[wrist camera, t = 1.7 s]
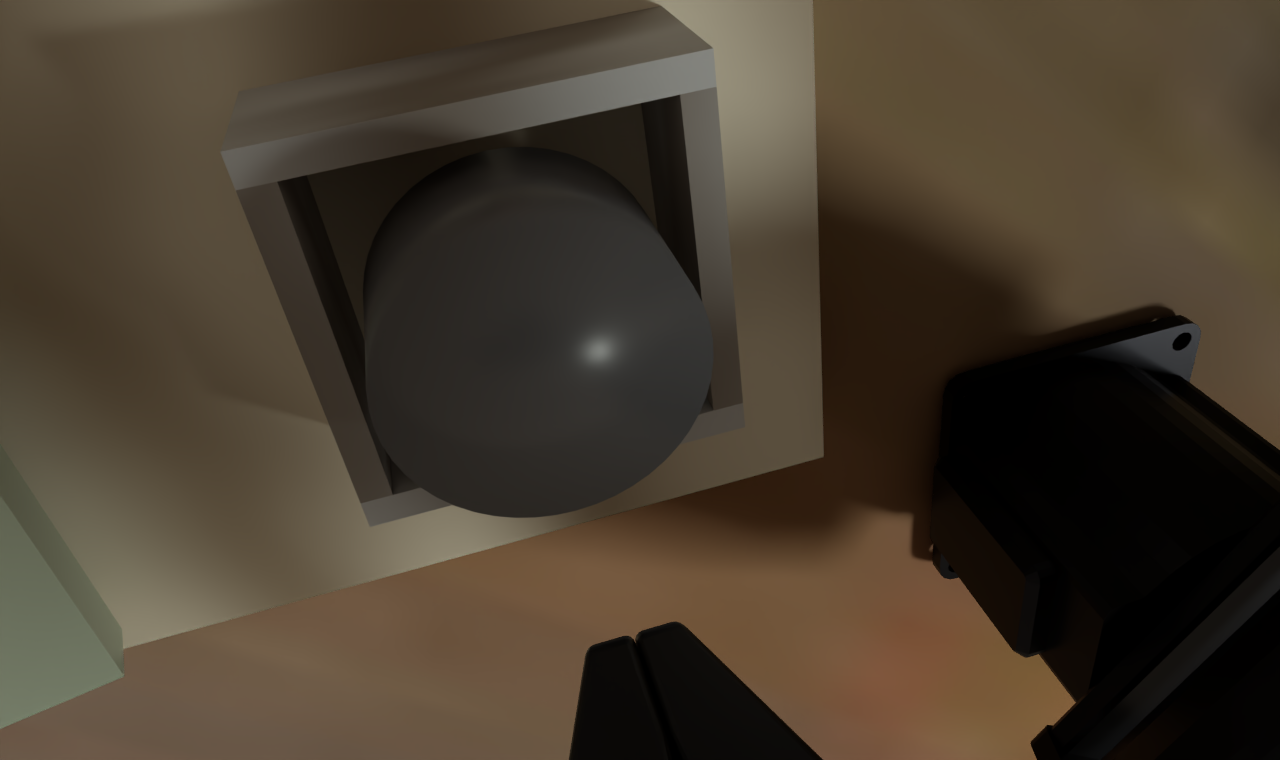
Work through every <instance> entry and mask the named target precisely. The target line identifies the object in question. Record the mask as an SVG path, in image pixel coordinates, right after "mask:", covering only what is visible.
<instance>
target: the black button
mask: <svg viewBox="0 0 1280 760" xmlns="http://www.w3.org/2000/svg"><path fill="white" fill-rule="evenodd" d="M363 310H364V340H365V369H366V392H367V401H368V409H369V412H370V416H371V420H372V423H373V427H374V429H375V431H376V433H377V436H378V438H379V440H380V442H381V444H382V446H383V447H384V449H385V450H386V452H387V453H388V455H389V456H390V458H391V459H392V461H393V462H394V463H395V464H396V465H397V466H398V467H399V469H400V470H401V471H402V472H403V473H404V474H405V475H406V476H407V477H408V478H410V479H411V480H412V481H413V482H414V483H416V484H417V485H418V486H419V487H421V488H422V489H424V490H425V491H427V492H429V493H430V494H432V495H433V496H435V497H437V498H439V499H441V500H443V501H445V502H447V503H450V504H452V505H454V506H457V507H460V508H463V509H466V510H469V511H472V512H476V513H481V514H486V515H491V516H499V517H510V518H536V517H544V516H553V515H559V514H563V513H568V512H572V511H577V510H580V509H583V508H586V507H589V506H592V505H595V504H598V503H600V502H602V501H605V500H607V499H609V498H611V497H614V496H616V495H618V494H619V493H621V492H623V491H625V490H626V489H628V488H630V487H632V486H633V485H635V484H636V483H638V482H639V481H641V480H642V479H643V478H645V477H646V476H648V475H649V474H650V473H651V472H653V471H654V470H655V469H656V468H657V467H658V466H659V465H661V464H662V463H663V462H664V461H665V460H666V459H667V458H668V457H669V456H670V455H671V454H672V453H673V451H674V450H675V449H676V448H677V447H678V446H679V445H680V443H681V442H682V441H683V439H684V438H685V436H686V435H687V434H688V432H689V431H690V429H691V428H692V426H693V424H694V422H695V420H696V419H697V417H698V415H699V413H700V411H701V408H702V406H703V404H704V401H705V399H706V396H707V392H708V389H709V385H710V381H711V376H712V368H713V338H712V333H711V327H710V322H709V319H708V316H707V313H706V310H705V308H704V305H703V303H702V301H701V299H700V297H699V295H698V293H697V292H696V290H695V288H694V286H693V285H692V283H691V282H690V280H689V279H688V277H687V275H686V274H685V272H684V271H683V269H682V268H681V266H680V265H679V263H678V262H677V260H676V258H675V257H674V255H673V254H672V252H671V251H670V249H669V248H668V246H667V245H666V243H665V241H664V240H663V238H662V237H661V235H660V234H659V232H658V231H657V229H656V228H655V226H654V224H653V223H652V221H651V220H650V218H649V217H648V215H647V214H646V212H645V211H644V209H643V208H642V206H641V205H640V204H639V202H638V201H637V200H636V198H635V197H634V196H633V194H632V193H631V192H630V191H629V190H628V189H627V188H626V187H625V186H624V185H623V184H622V183H621V182H619V181H618V180H617V179H615V178H614V177H613V176H611V175H610V174H609V173H607V172H606V171H605V170H603V169H601V168H599V167H598V166H596V165H594V164H592V163H590V162H588V161H586V160H584V159H581V158H578V157H576V156H573V155H571V154H567V153H563V152H559V151H555V150H551V149H544V148H534V147H506V148H500V149H493V150H486V151H483V152H479V153H476V154H472V155H469V156H465V157H463V158H460V159H458V160H456V161H453V162H451V163H449V164H446V165H444V166H443V167H441V168H439V169H437V170H436V171H434V172H432V173H431V174H429V175H427V176H426V177H425V178H423V179H422V180H421V181H419V182H418V183H417V184H416V185H414V186H413V187H412V188H411V189H409V190H408V192H407V193H406V194H405V195H404V196H403V197H402V198H401V199H400V200H399V201H398V202H397V203H396V204H395V205H394V207H393V208H392V209H391V211H390V212H389V213H388V215H387V216H386V217H385V219H384V220H383V222H382V224H381V226H380V228H379V229H378V231H377V233H376V235H375V237H374V239H373V242H372V245H371V248H370V250H369V253H368V256H367V261H366V266H365V271H364V281H363Z"/></svg>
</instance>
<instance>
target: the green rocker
mask: <svg viewBox="0 0 1280 760" xmlns="http://www.w3.org/2000/svg"><path fill="white" fill-rule="evenodd" d="M122 677H124V657H123V636H122V628H121V627H120V625H119V624H118V622H117V621H116V619H115V618H114V616H113V615H112V613H111V612H110V610H109V608H108V607H107V605H106V604H105V602H104V601H103V599H102V598H101V596H100V595H99V593H98V592H97V590H96V589H95V587H94V586H93V584H92V583H91V581H90V580H89V578H88V577H87V575H86V574H85V572H84V570H83V569H82V567H81V566H80V564H79V563H78V561H77V560H76V558H75V557H74V555H73V554H72V552H71V551H70V549H69V548H68V546H67V545H66V543H65V542H64V540H63V539H62V537H61V535H60V534H59V532H58V531H57V529H56V528H55V526H54V525H53V523H52V522H51V520H50V519H49V517H48V516H47V514H46V513H45V511H44V510H43V508H42V507H41V505H40V504H39V502H38V501H37V499H36V497H35V496H34V494H33V493H32V491H31V490H30V488H29V487H28V485H27V484H26V482H25V481H24V479H23V478H22V476H21V475H20V473H19V472H18V470H17V469H16V467H15V466H14V464H13V463H12V461H11V459H10V458H9V456H8V455H7V453H6V452H5V450H4V449H3V447H2V446H1V444H0V729H1V728H3V727H6V726H8V725H10V724H13V723H15V722H18V721H20V720H22V719H25V718H27V717H29V716H32V715H34V714H37V713H39V712H41V711H44V710H46V709H48V708H51V707H53V706H55V705H58V704H60V703H63V702H65V701H67V700H70V699H72V698H74V697H77V696H79V695H81V694H84V693H86V692H89V691H91V690H93V689H96V688H98V687H100V686H103V685H105V684H108V683H110V682H112V681H115V680H117V679H119V678H122Z"/></svg>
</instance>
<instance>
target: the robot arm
mask: <svg viewBox="0 0 1280 760" xmlns="http://www.w3.org/2000/svg"><path fill="white" fill-rule="evenodd" d="M1200 335H1201V330H1200V328H1199V326H1198V325H1196V324H1195V323H1193V322H1192V321H1190V320H1189V319H1188V318H1186V317H1184V316H1181V315H1179V316H1172V317H1168V318H1164V319H1161V320H1157V321H1153V322H1149V323H1146V324H1142V325H1138V326H1134V327H1131V328H1127V329H1123V330H1119V331H1116V332H1112V333H1108V334H1104V335H1101V336H1097V337H1093V338H1089V339H1086V340H1082V341H1078V342H1074V343H1071V344H1067V345H1063V346H1059V347H1056V348H1052V349H1048V350H1044V351H1041V352H1037V353H1033V354H1029V355H1026V356H1022V357H1018V358H1014V359H1011V360H1007V361H1003V362H1000V363H996V364H992V365H988V366H985V367H981V368H977V369H973V370H970V371H966V372H963V373H961V374H958V375H956V376H955V377H954V378H953V379H951V380H950V381H949V383H948V384H947V386H946V387H945V390H944V393H943V405H942V420H941V435H940V450H939V458H938V460H937V463H936V465H935V467H934V477H933V493H932V509H931V525H930V538H931V540H932V542H933V558H932V560H933V565H934V566H935V567H936V569H937V570H938V572H939V573H940V574H941V575H942V576H943V577H944V578H947V579H954V578H958V577H959V578H960V579H961V581H962V582H963V583H964V585H965V586H966V588H967V589H968V590H969V592H970V593H971V594H972V596H973V597H974V598H975V600H976V601H977V602H978V604H979V605H980V606H981V608H982V609H983V611H984V612H985V613H986V615H987V616H988V617H989V619H990V620H991V621H992V623H993V624H994V625H995V627H996V628H997V629H998V631H999V632H1000V633H1001V635H1002V636H1003V638H1004V639H1005V640H1006V642H1007V643H1008V644H1009V646H1010V647H1011V648H1012V650H1013V651H1015V652H1016V653H1018V654H1020V655H1021V656H1023V657H1031V656H1034V655H1037V654H1039V655H1040V656H1041V658H1042V659H1043V660H1044V662H1045V663H1046V664H1047V665H1048V667H1049V668H1050V669H1051V671H1052V672H1053V673H1054V675H1055V676H1056V677H1057V679H1058V680H1059V681H1060V682H1061V684H1062V685H1063V686H1064V688H1065V689H1066V690H1067V692H1068V693H1069V694H1070V695H1071V697H1072V698H1073V699H1074V701H1075V702H1076V703H1075V704H1074V705H1073V706H1072V707H1071V708H1070V709H1069V710H1068V711H1067V712H1066V713H1065V714H1064V715H1063V716H1062V717H1061V718H1060V719H1059V720H1058V721H1057V722H1056V723H1055V724H1054V725H1053V726H1052V725H1047V726H1046V727H1045V728H1044V729H1043V730H1042V731H1041V732H1040V733H1039V734H1038V735H1037V736H1036V737H1035V738H1034V739H1033V740H1032V741H1031V747H1032V749H1033V751H1034V754H1035V756H1036V758H1037V760H1280V450H1279V449H1277V448H1276V447H1275V446H1273V445H1272V444H1271V443H1269V442H1268V441H1267V440H1265V439H1264V438H1263V437H1261V436H1260V435H1259V434H1257V433H1256V432H1255V431H1253V430H1252V429H1251V428H1249V427H1248V426H1247V425H1245V424H1244V423H1243V422H1241V421H1240V420H1239V419H1237V418H1236V417H1235V416H1233V415H1232V414H1231V413H1229V412H1228V411H1227V410H1225V409H1224V408H1223V407H1221V406H1220V405H1219V404H1217V403H1216V402H1215V401H1213V400H1212V399H1211V398H1209V397H1208V396H1207V395H1205V394H1204V393H1203V392H1201V391H1200V390H1199V389H1197V388H1196V387H1195V386H1193V385H1192V384H1191V383H1190V382H1189V381H1190V377H1191V373H1192V369H1193V365H1194V361H1195V357H1196V353H1197V348H1198V344H1199V340H1200ZM969 391H971V392H970V393H969V394H968V395H967V396H965V397H963V396H964V395H965V394H966V393H967V392H969ZM635 641H636V643H635ZM635 641H634V639H632V638H631V637H629V636H622V637H619V638H615V639H612V640H608V641H605V642H601V643H598V644H595V645H592V646H591V647H590V648H589V649H588V650H587V653H586V656H585V661H584V667H583V674H582V680H581V686H580V693H579V699H578V705H577V712H576V718H575V724H574V731H573V737H572V743H571V750H570V756H569V760H823V759H822V758H821V757H820V756H819V755H818V754H817V753H816V752H814V751H813V750H812V749H811V748H810V747H809V746H808V745H807V744H806V743H805V742H804V741H803V740H802V739H801V738H800V737H799V736H798V735H797V734H796V733H795V732H794V731H793V730H792V729H791V728H790V727H789V726H788V725H787V724H786V723H785V722H784V721H783V720H782V719H780V718H779V717H778V716H777V715H776V714H775V713H774V712H773V711H772V710H771V709H770V708H769V707H768V706H767V705H766V704H765V703H764V702H763V701H762V700H761V699H760V698H759V697H758V696H757V695H756V694H755V693H754V692H753V691H752V690H751V689H750V688H749V687H748V686H746V685H745V684H744V683H743V682H742V681H741V680H740V679H739V678H738V677H737V676H736V675H735V674H734V673H733V672H732V671H731V670H730V669H729V668H728V667H727V666H726V665H725V664H724V663H723V662H722V661H721V660H720V659H719V658H718V657H717V656H716V655H715V654H714V653H712V652H711V651H710V650H709V649H708V648H707V647H706V646H705V645H704V644H703V643H702V642H701V641H700V640H699V639H698V638H697V637H696V636H695V635H694V634H693V633H692V632H691V631H690V630H689V629H688V628H687V627H685V626H684V625H683V624H681V623H679V622H670V623H667V624H663V625H660V626H656V627H653V628H649V629H646V630H643V631H641V632H639V633H638V634H637V635H636V639H635Z"/></svg>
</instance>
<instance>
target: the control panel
mask: <svg viewBox="0 0 1280 760" xmlns="http://www.w3.org/2000/svg"><path fill="white" fill-rule="evenodd" d="M506 147H534V148H544V149H551V150H555V151H559V152H563V153H567V154H571V155H573V156H576V157H578V158H581V159H584V160H586V161H588V162H590V163H592V164H594V165H596V166H598V167H599V168H601V169H603V170H605V171H606V172H607V173H609V174H610V175H611V176H613V177H614V178H615V179H617V180H618V181H619V182H621V183H622V184H623V185H624V186H625V187H626V188H627V189H628V190H629V191H630V192H631V193H632V194H633V196H634V197H635V198H636V200H637V201H638V202H639V204H640V205H641V206H642V208H643V209H644V211H645V212H646V214H647V215H648V217H649V218H650V220H651V221H652V223H653V224H654V226H655V228H656V229H657V231H658V232H659V234H660V235H661V237H662V238H663V240H664V241H665V243H666V245H667V246H668V248H669V249H670V251H671V252H672V254H673V255H674V257H675V258H676V260H677V262H678V263H679V265H680V266H681V268H682V269H683V271H684V272H685V274H686V275H687V277H688V279H689V280H690V282H691V283H692V285H693V286H694V288H695V290H696V292H697V293H698V295H699V297H700V299H701V301H702V303H703V305H704V308H705V310H706V313H707V316H708V319H709V322H710V327H711V333H712V338H713V368H712V376H711V381H710V385H709V389H708V392H707V396H706V399H705V401H704V404H703V406H702V408H701V411H700V413H699V415H698V417H697V419H696V420H695V422H694V424H693V426H692V428H691V429H690V431H689V432H688V434H687V435H686V436H685V438H684V439H683V441H682V442H681V443H680V445H679V446H678V447H677V448H676V449H675V450H674V451H673V453H672V454H671V455H670V456H669V457H668V458H667V459H666V460H665V461H664V462H663V463H662V464H661V465H659V466H658V467H657V468H656V469H655V470H654V471H653V472H651V473H650V474H649V475H648V476H646V477H645V478H643V479H642V480H641V481H639V482H638V483H636V484H635V485H633V486H632V487H630V488H628V489H626V490H625V491H623V492H621V493H619V494H618V495H616V496H614V497H611V498H609V499H607V500H605V501H602V502H600V503H598V504H595V505H592V506H589V507H586V508H583V509H580V510H577V511H572V512H568V513H563V514H559V515H553V516H544V517H536V518H510V517H499V516H491V515H486V514H481V513H476V512H472V511H469V510H466V509H463V508H460V507H457V506H454V505H452V504H450V503H447V502H445V501H443V500H441V499H439V498H437V497H435V496H433V495H432V494H430V493H429V492H427V491H425V490H424V489H422V488H421V487H419V486H418V485H417V484H416V483H414V482H413V481H412V480H411V479H410V478H408V477H407V476H406V475H405V474H404V473H403V472H402V471H401V470H400V469H399V467H398V466H397V465H396V464H395V463H394V462H393V461H392V459H391V458H390V456H389V455H388V453H387V452H386V450H385V449H384V447H383V446H382V444H381V442H380V440H379V438H378V436H377V433H376V431H375V429H374V427H373V423H372V420H371V416H370V412H369V409H368V401H367V392H366V369H365V340H364V310H363V281H364V271H365V266H366V261H367V256H368V253H369V250H370V248H371V245H372V242H373V239H374V237H375V235H376V233H377V231H378V229H379V228H380V226H381V224H382V222H383V220H384V219H385V217H386V216H387V215H388V213H389V212H390V211H391V209H392V208H393V207H394V205H395V204H396V203H397V202H398V201H399V200H400V199H401V198H402V197H403V196H404V195H405V194H406V193H407V192H408V190H409V189H411V188H412V187H413V186H414V185H416V184H417V183H418V182H419V181H421V180H422V179H423V178H425V177H426V176H427V175H429V174H431V173H432V172H434V171H436V170H437V169H439V168H441V167H443V166H444V165H446V164H449V163H451V162H453V161H456V160H458V159H460V158H463V157H465V156H469V155H472V154H476V153H479V152H483V151H486V150H493V149H500V148H506ZM0 444H1V446H2V447H3V449H4V450H5V452H6V453H7V455H8V456H9V458H10V459H11V461H12V463H13V464H14V466H15V467H16V469H17V470H18V472H19V473H20V475H21V476H22V478H23V479H24V481H25V482H26V484H27V485H28V487H29V488H30V490H31V491H32V493H33V494H34V496H35V497H36V499H37V501H38V502H39V504H40V505H41V507H42V508H43V510H44V511H45V513H46V514H47V516H48V517H49V519H50V520H51V522H52V523H53V525H54V526H55V528H56V529H57V531H58V532H59V534H60V535H61V537H62V539H63V540H64V542H65V543H66V545H67V546H68V548H69V549H70V551H71V552H72V554H73V555H74V557H75V558H76V560H77V561H78V563H79V564H80V566H81V567H82V569H83V570H84V572H85V574H86V575H87V577H88V578H89V580H90V581H91V583H92V584H93V586H94V587H95V589H96V590H97V592H98V593H99V595H100V596H101V598H102V599H103V601H104V602H105V604H106V605H107V607H108V608H109V610H110V612H111V613H112V615H113V616H114V618H115V619H116V621H117V622H118V624H119V625H120V627H121V628H122V636H123V649H125V648H128V647H132V646H136V645H139V644H143V643H147V642H150V641H154V640H158V639H161V638H165V637H169V636H172V635H176V634H180V633H183V632H187V631H191V630H194V629H198V628H201V627H205V626H209V625H212V624H216V623H220V622H223V621H227V620H231V619H234V618H238V617H242V616H245V615H249V614H253V613H256V612H260V611H264V610H267V609H271V608H274V607H278V606H282V605H285V604H289V603H293V602H296V601H300V600H304V599H307V598H311V597H315V596H318V595H322V594H326V593H329V592H333V591H337V590H340V589H344V588H347V587H351V586H355V585H358V584H362V583H366V582H369V581H373V580H377V579H380V578H384V577H388V576H391V575H395V574H399V573H402V572H406V571H410V570H413V569H417V568H420V567H424V566H428V565H431V564H435V563H439V562H442V561H446V560H450V559H453V558H457V557H461V556H464V555H468V554H472V553H475V552H479V551H483V550H486V549H490V548H493V547H497V546H501V545H504V544H508V543H512V542H515V541H519V540H523V539H526V538H530V537H534V536H537V535H541V534H545V533H548V532H552V531H556V530H559V529H563V528H566V527H570V526H574V525H577V524H581V523H585V522H588V521H592V520H596V519H599V518H603V517H607V516H610V515H614V514H618V513H621V512H625V511H629V510H632V509H636V508H639V507H643V506H647V505H650V504H654V503H658V502H661V501H665V500H669V499H672V498H676V497H680V496H683V495H687V494H691V493H694V492H698V491H702V490H705V489H709V488H712V487H716V486H720V485H723V484H727V483H731V482H734V481H738V480H742V479H745V478H749V477H753V476H756V475H760V474H764V473H767V472H771V471H775V470H778V469H782V468H785V467H789V466H793V465H796V464H800V463H804V462H807V461H811V460H815V459H818V458H822V457H824V443H823V401H822V360H821V319H820V278H819V236H818V195H817V154H816V112H815V71H814V30H813V0H0Z"/></svg>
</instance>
